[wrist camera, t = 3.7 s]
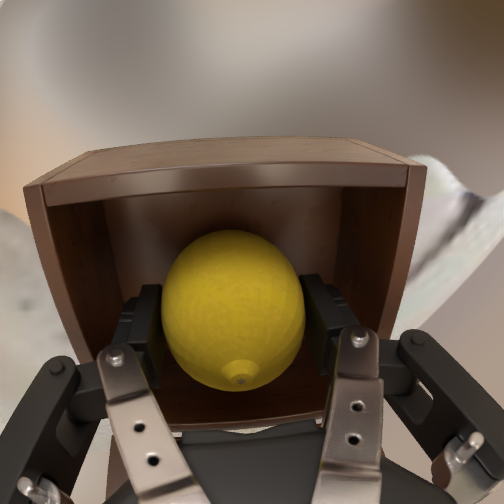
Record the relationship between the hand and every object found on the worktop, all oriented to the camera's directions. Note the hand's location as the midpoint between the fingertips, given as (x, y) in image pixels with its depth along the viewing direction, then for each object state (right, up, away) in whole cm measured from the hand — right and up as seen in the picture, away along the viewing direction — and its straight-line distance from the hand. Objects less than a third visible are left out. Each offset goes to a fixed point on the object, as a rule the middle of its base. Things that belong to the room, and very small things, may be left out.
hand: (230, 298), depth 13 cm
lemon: (0, +2, +3) cm, 4 cm away
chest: (-1, +1, +4) cm, 4 cm away
